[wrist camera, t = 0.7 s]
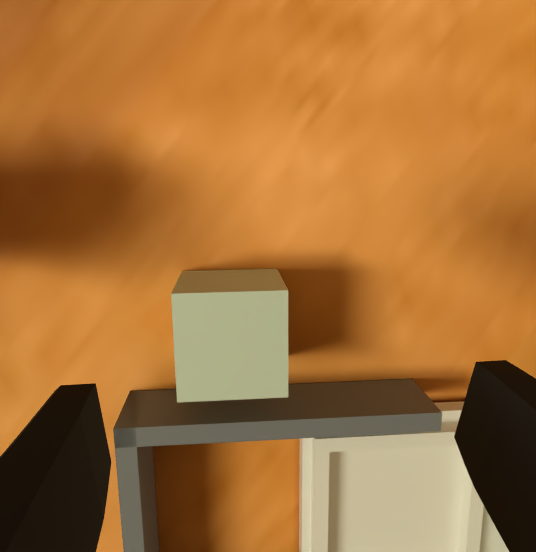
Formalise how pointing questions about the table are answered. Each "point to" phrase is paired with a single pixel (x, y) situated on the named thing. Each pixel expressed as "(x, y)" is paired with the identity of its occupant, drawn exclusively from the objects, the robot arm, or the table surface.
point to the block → (230, 335)
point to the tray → (392, 494)
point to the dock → (250, 431)
